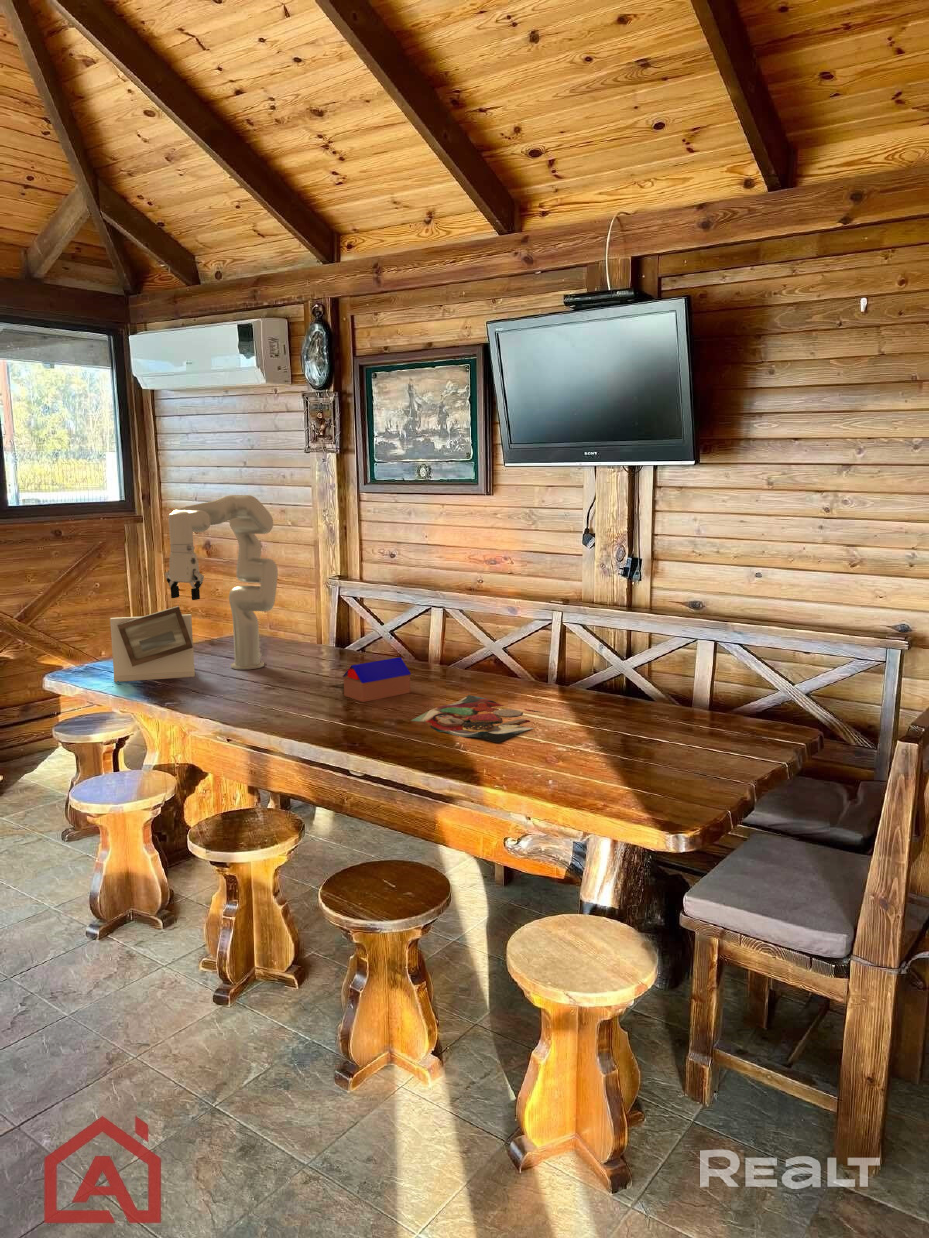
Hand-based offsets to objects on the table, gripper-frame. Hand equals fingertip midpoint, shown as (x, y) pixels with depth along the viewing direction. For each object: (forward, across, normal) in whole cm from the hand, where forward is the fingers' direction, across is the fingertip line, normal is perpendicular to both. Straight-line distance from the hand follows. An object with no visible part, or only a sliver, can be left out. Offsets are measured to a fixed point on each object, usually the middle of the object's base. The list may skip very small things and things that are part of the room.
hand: (185, 598), depth 313 cm
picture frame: (+24, +21, -7) cm, 32 cm away
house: (+33, -61, -25) cm, 74 cm away
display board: (+32, +27, -8) cm, 43 cm away
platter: (+33, -108, -13) cm, 114 cm away
